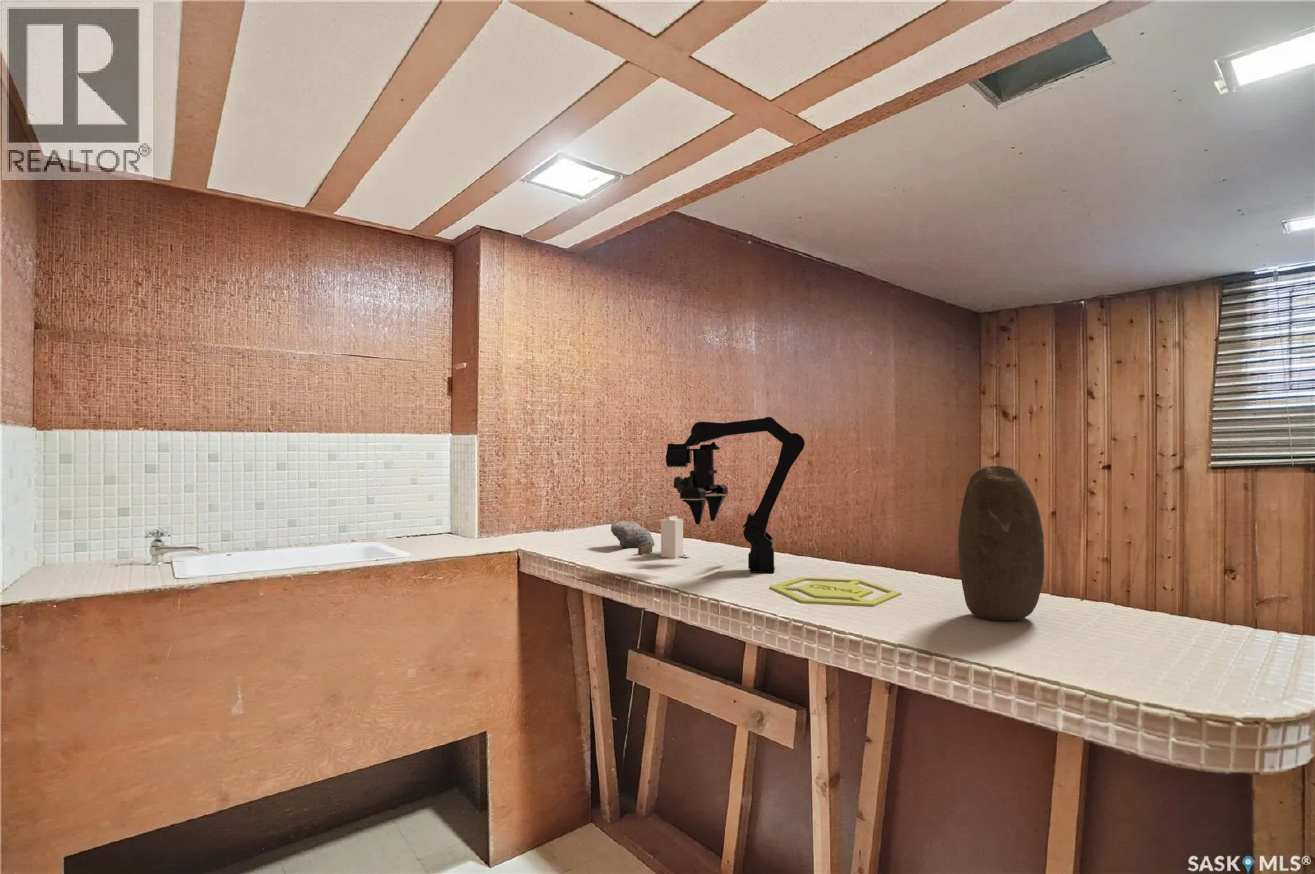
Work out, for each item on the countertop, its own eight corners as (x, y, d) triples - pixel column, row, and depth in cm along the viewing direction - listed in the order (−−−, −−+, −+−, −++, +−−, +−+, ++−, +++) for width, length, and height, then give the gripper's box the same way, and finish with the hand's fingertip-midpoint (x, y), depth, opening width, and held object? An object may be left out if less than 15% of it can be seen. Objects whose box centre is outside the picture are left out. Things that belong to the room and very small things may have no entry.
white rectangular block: (683, 555, 189) (683, 516, 189) (675, 558, 185) (675, 517, 185) (669, 554, 191) (668, 515, 192) (661, 556, 188) (660, 516, 188)
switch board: (697, 559, 189) (697, 547, 189) (680, 565, 181) (680, 552, 181) (650, 554, 198) (650, 543, 198) (632, 559, 190) (632, 547, 190)
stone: (947, 613, 127) (946, 465, 128) (999, 606, 133) (997, 464, 134) (1004, 630, 116) (1002, 467, 116) (1058, 621, 121) (1055, 465, 122)
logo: (914, 586, 150) (858, 610, 128) (914, 589, 150) (858, 614, 128) (816, 572, 168) (751, 591, 146) (816, 575, 168) (751, 594, 146)
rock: (637, 559, 203) (632, 530, 201) (606, 549, 216) (602, 522, 214) (662, 548, 210) (658, 520, 208) (631, 539, 222) (627, 512, 221)
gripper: (693, 465, 189) (695, 518, 188) (661, 468, 173) (663, 525, 172) (727, 465, 183) (729, 519, 183) (698, 467, 167) (700, 526, 167)
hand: (705, 522), depth 176 cm, fingers open, 9 cm apart
